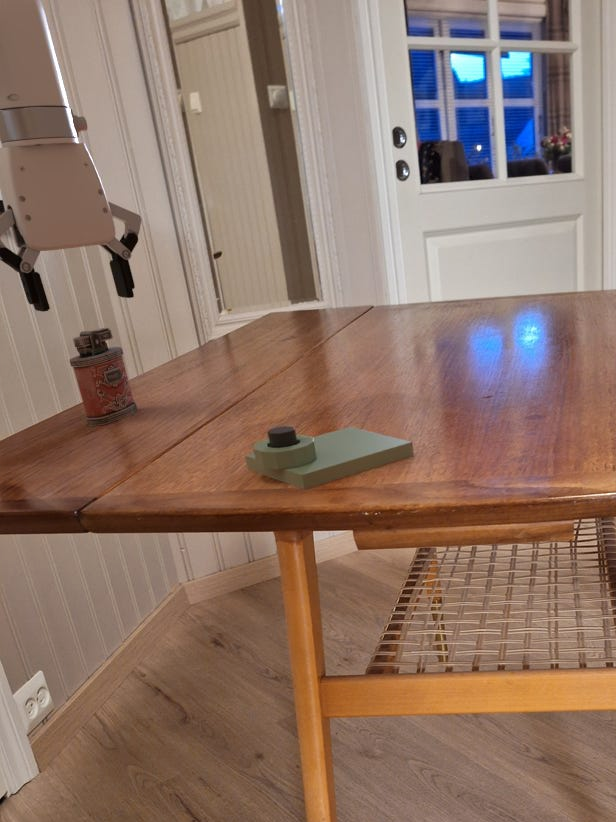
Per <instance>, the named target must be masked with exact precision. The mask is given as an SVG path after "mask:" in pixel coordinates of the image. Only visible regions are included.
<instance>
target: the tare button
mask: <svg viewBox="0 0 616 822" xmlns="http://www.w3.org/2000/svg"><path fill="white" fill-rule="evenodd" d="M296 435H297V432H296V428H295V427H294V426H288V425H287V426H286V425H284V426H277V427H273V428H270V429H269V430H267V437H268V439H269V442H270V447H271V448H283V447H290V446H293V445H297V444H298V443H297V437H296Z"/></svg>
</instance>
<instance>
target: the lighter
mask: <svg viewBox="0 0 616 822" xmlns="http://www.w3.org/2000/svg"><path fill="white" fill-rule="evenodd" d="M113 339H114V336H113V333H112V330H111V329H110V328H109V327H102V328H98V329H94V330H83V331H80V332H79V336H76V337H73V338H72V341H73V345H74V347H75V349H76V352H77V353H78V354H79V355H76V356H74V357H71V358H69V359H68V360H69V364H70V367H72V368H73V372H74V376H75V379H76V382H77V386H78V389H79V393H80V396H81V401H82V403H83V407H84V410H85V415H86V416H85V421H86V424H87V426H90V427H96V426H103V425H108V424H110V423H113V422H116V421H119V420H122V419H123V418H126V417H128V416H130V415H132V414H134V413H136V412H137V411H138V405H137V402H136V401H134V397H133V392H132V389H131V385H130V381H129V378H128V377H129V376H128V373H127V369H126V364H125V361H124V357H123V355H124V350H123V347H122V346H111V347H109V346H108V342H107V341H109V340H113Z"/></svg>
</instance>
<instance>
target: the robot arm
mask: <svg viewBox="0 0 616 822" xmlns="http://www.w3.org/2000/svg"><path fill="white" fill-rule="evenodd" d="M61 73H62V72H61V70H60V66H59V62H58V58H57V55H56V50H55V47H54V43H53V39H52V36H51V32H50V28H49V24H48V20H47V16H46V12H45V9H44V5H43V3H42V1H41V0H0V143H1V148H0V194H1V199H2V204H3V208H4V212H2V213H1V214H0V237H1V236H2V234H4V233H5V232H7V231H8V230H9V232H10V234H11V238H12V241H13V243H14V245H15V246H16V247H17V248H18V251H17V253H15V252H13V251H12V250H11V249H10V248H8V247H7V246H6V245H5V244H4V242H3V241H2V239H1V238H0V261H1V262H3V263H4V264H6V265H7V266H8V267H10V268H11V269H13V270H14V272H16V273H18V274H19V278H20V282H21V284H22V287H23V291H24V294H25V297H26V300H27V302H28V304H29V305H33V308H34V310H35V311H38V312H42V313H43V312H49V310H51V307H50V304H49V300H48V297H47V294H46V290H45V287H44V284H43V280H42V277H41V274H40V273H39V272H38V271H35V264H36V262H37V260H38V258H39V256H40V253H41V252H48V251H49V252H50V251H58V250H67V249H74V248H84V247H90V246H99V247H101V248H102V250H104V251H105V252H107V253H108V255H110V256H111V260H109V267H110V272H111V275H112V278H113V282H114V286H115V290H116V294H117V296H118V297H120V298H126V299H131V298H134V297H135V294H134V291H133V290H135V280H134V277H133V273H132V269H131V265H130V262H129V260H130V259H131V258H132V253H133V252H134V249H135V248H136V246H137V244H138V243H139V234H140V231H141V225H142V217H141V215H140V214H138V213H136V212H133V211H131V210H129V209H126V208H124V207H122V206H119V205H118V204H115V203H112V202H110V201H108V197H107V195H106V192H105V188H104V185H103V183H102V179H101V177H100V175H99V173H98V170H97V168H96V165H95V162H94V160H93V158H92V155H91V153H90V152H89V150H88V147H87V145H86V143H85V142H79V139H78V138H79V137H80V135H79V133H81V132H86V131H88V122H87V120H86V118H85V117H84V116H78V115H76V114H74V111H73V109H71V108H70V105H69V100H68V97H67V92H66V89H65V86H64V81H63V78H62V77H63V76H62V74H61ZM114 219H116V220H118V221H121V222H122V223H123V224H124V231H123V232H124V233H123V234H122V235H121V238H120V239H117V237H116V233H117V232H116V225H115V222H114Z"/></svg>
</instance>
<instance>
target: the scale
mask: <svg viewBox="0 0 616 822" xmlns="http://www.w3.org/2000/svg"><path fill="white" fill-rule="evenodd" d="M296 437H297V443H298V444H297V445H293V446H290V447H283V448H271V447H270V442H269V438H266V439H262V440H260V441H258V442H256V443H254V444H253V448H252V449H253V452H252V453H250V454H246V455H244V458H245V463H246V468H247V470H248V471H252V472H254V473H257V474H260V475H263V476H266V477H269V478H271V479H274V480H276V481H279V482H282V483H285V484H288V485H290V486H293V487H296V488H299V489H301V490H308V489H312V488H314V487H317V486H321V485H324V484H328V483H331V482H335V481H337V480H340V479H344V478H347V477H349V476H353V475H356V474H360V473H363V472H367V471H369V470H373V469H375V468H376V469H377V468H379V467H382V466H385V465H388V464H392V463H395V462H399V461H402V460H405V459H408V458H411V457H414V445H413V441H410V440H407V439H401V438H397V437H394V436H389V435H385V434H382V433H378V432H373V431H369V430H365V429H361V428H358V427H354V426H348V427H344V428H340V429H337V430H333V431H330V432H326V433H322V434H320V435H315V436H308V435H304V434H296Z"/></svg>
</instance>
